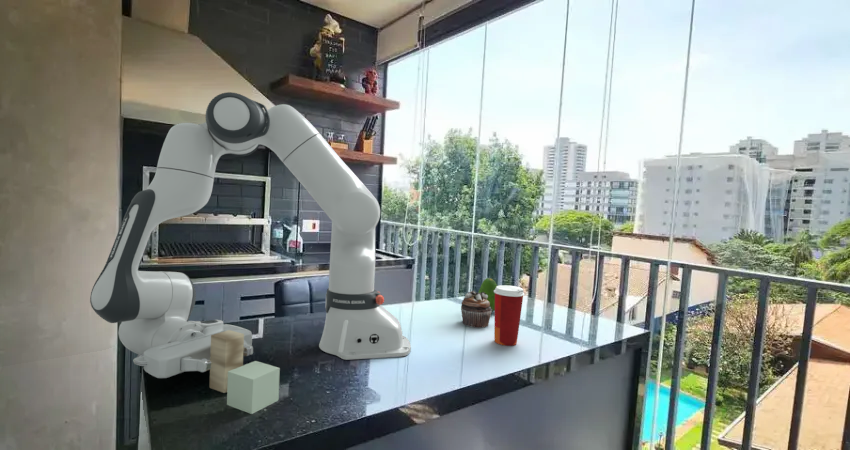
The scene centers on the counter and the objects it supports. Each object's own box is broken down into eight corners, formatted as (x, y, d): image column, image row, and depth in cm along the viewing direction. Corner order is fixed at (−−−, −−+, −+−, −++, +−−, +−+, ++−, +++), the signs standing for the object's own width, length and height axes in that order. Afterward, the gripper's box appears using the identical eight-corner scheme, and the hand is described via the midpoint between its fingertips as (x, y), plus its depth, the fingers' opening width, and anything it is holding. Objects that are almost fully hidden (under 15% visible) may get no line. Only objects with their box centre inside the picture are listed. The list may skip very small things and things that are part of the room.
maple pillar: (227, 380, 85) (229, 329, 85) (242, 385, 84) (244, 333, 83) (209, 387, 82) (211, 335, 81) (224, 392, 80) (226, 339, 79)
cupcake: (456, 325, 133) (458, 292, 132) (464, 317, 142) (466, 287, 141) (487, 330, 129) (489, 297, 129) (493, 322, 138) (496, 291, 138)
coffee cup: (526, 343, 119) (530, 288, 118) (510, 349, 113) (514, 292, 112) (500, 335, 125) (504, 283, 124) (483, 341, 119) (487, 286, 118)
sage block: (254, 392, 81) (255, 360, 81) (278, 400, 78) (279, 368, 78) (226, 405, 76) (227, 371, 75) (251, 414, 73) (253, 379, 73)
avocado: (475, 314, 147) (478, 278, 146) (476, 308, 155) (479, 275, 154) (499, 316, 146) (502, 281, 145) (499, 310, 154) (502, 277, 153)
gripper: (127, 342, 79) (177, 358, 72) (224, 317, 97) (271, 329, 91) (127, 376, 79) (176, 396, 73) (224, 345, 97) (270, 358, 91)
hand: (230, 358), depth 82 cm, fingers open, 8 cm apart
